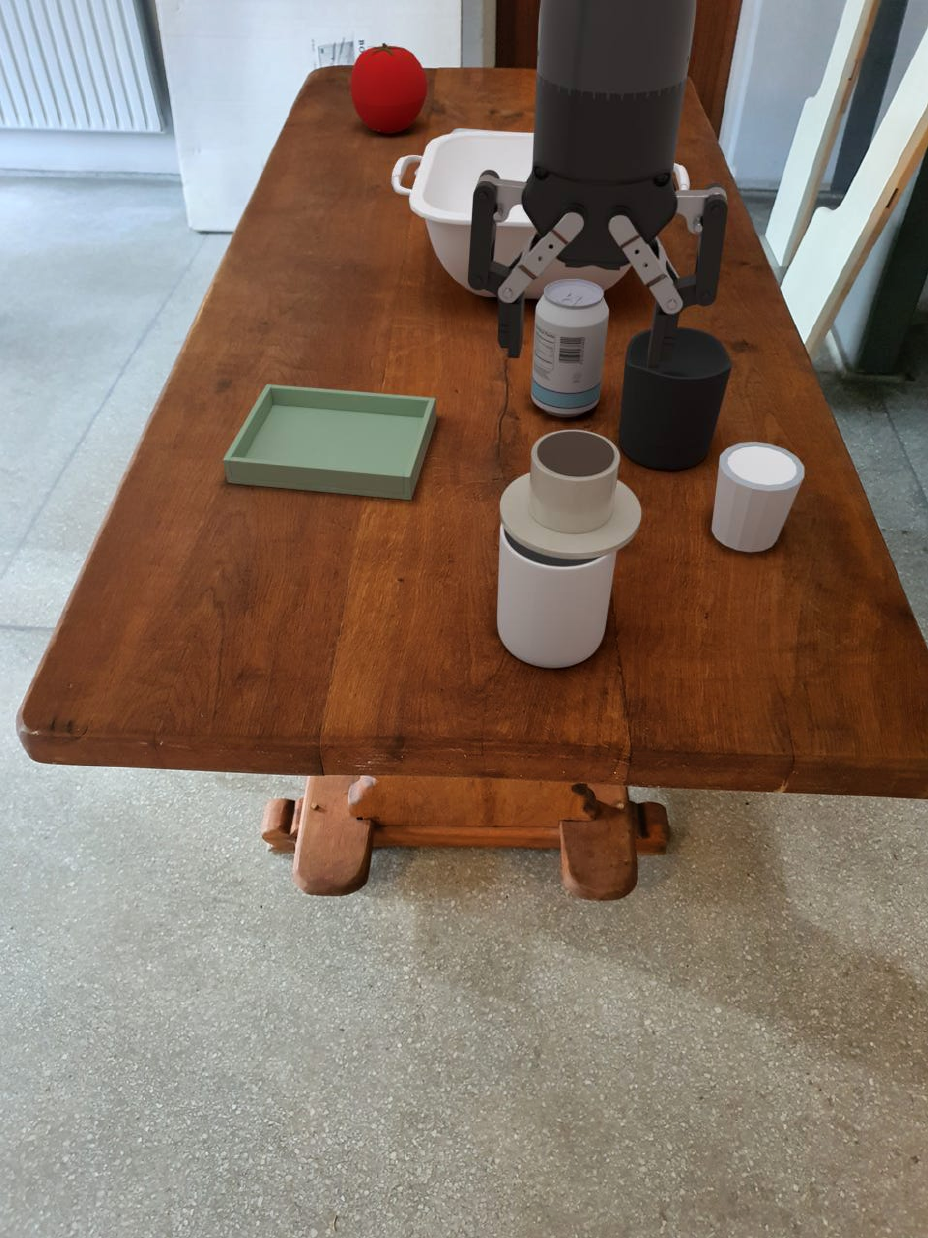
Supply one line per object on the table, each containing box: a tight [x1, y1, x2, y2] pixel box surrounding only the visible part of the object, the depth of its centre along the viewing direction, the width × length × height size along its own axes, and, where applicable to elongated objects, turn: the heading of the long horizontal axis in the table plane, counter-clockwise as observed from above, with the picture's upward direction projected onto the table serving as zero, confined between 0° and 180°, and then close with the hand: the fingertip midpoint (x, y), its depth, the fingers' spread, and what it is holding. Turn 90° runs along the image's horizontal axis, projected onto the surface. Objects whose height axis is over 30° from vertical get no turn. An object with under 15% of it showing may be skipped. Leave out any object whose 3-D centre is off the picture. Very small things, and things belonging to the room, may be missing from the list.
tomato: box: [349, 42, 428, 135], centre depth 152 cm, size 12×12×13 cm
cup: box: [496, 521, 618, 669], centre depth 71 cm, size 8×12×10 cm
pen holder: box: [618, 326, 733, 471], centre depth 88 cm, size 9×9×10 cm
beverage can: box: [530, 279, 610, 418], centre depth 92 cm, size 7×7×12 cm
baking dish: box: [391, 131, 691, 300], centre depth 113 cm, size 34×28×13 cm
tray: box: [222, 383, 437, 501], centre depth 90 cm, size 17×13×3 cm
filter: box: [499, 429, 642, 559], centre depth 65 cm, size 10×10×5 cm
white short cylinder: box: [711, 441, 805, 553], centre depth 79 cm, size 7×7×7 cm
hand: (583, 357), depth 59 cm, fingers open, 8 cm apart
